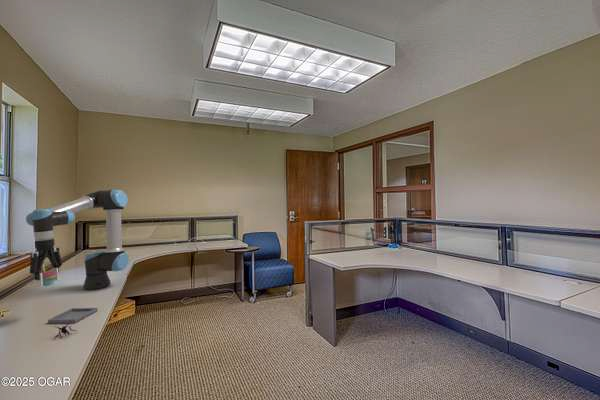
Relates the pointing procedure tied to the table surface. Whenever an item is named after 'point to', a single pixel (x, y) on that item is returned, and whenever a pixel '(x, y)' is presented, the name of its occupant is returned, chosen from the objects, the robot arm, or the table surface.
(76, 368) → the table surface
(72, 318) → the tray
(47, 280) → the cupcake
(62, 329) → the creature
